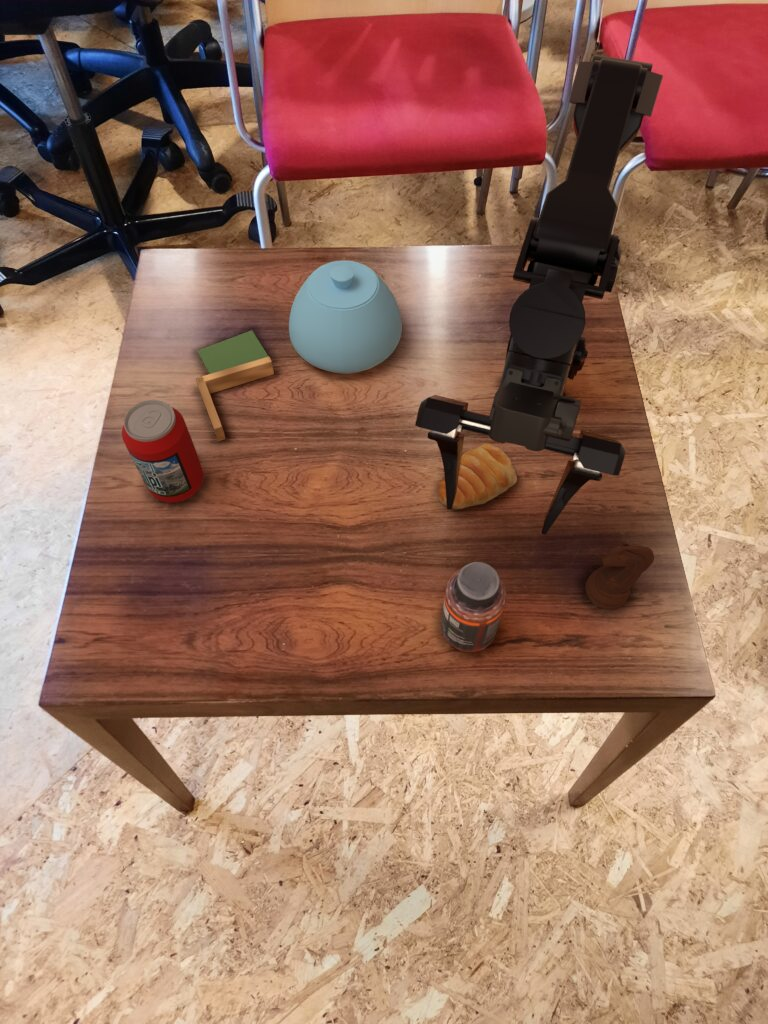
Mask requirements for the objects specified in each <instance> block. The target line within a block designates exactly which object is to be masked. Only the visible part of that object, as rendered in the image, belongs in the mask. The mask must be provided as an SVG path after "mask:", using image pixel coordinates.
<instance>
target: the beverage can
mask: <svg viewBox="0 0 768 1024" xmlns="http://www.w3.org/2000/svg"><path fill="white" fill-rule="evenodd" d="M121 438H122V441H123V443H124V445H125V447H126V449H127V451H128V453H129V455H130V457H131V460H132V461H133V463H134V465H135V467H136V469H137V471H138V473H139V475H140V477H141V479H142V480H143V483H144V485H145V487H146V488H147V490H148V492H149V494H150V495H151V496H152V497H154V499H157V500H158V501H160V502H165V503H179V502H182V501H185V500H187V499H190V498H191V497H192V496H193V495H195V494H196V493H197V492H198V491H199V490H200V488H201V486H202V484H203V482H204V470H203V467H202V464H201V461H200V458H199V455H198V451H197V450H196V447H195V443H194V442H193V439H192V436H191V433H190V430H189V428H188V426H187V423H186V421H185V419H184V417H183V414H182V413H181V412H180V411H179V410H177V409H176V408H175V407H172V406H171V405H170V404H169V403H167V402H166V401H164V400H161V399H146V400H143V401H140V402H138V403H136V404H135V405H133V406H132V407H131V408H129V409H128V411H127V413H125V416H124V418H123V425H122V429H121Z"/></svg>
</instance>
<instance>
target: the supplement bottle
mask: <svg viewBox="0 0 768 1024" xmlns="http://www.w3.org/2000/svg"><path fill="white" fill-rule="evenodd" d="M506 601H507V591H506V587H505V584H504V582H503V581H502V579H501V578H500V576H499V574H498V572H497V571H496V569H495V568H494V567H493V566H491V565H489V564H488V563H485V562H482V561H473V562H469V563H467V564H465V565H463V567H462V568H460V569H458V570H456V571H455V572H454V573H453V574H452V575H451V577H450V578H449V580H448V581H447V583H446V586H445V591H444V597H443V604H442V612H441V617H440V628H441V633H442V636H443V638H444V639H445V641H446V642H447V643H448V644H449V645H450V646H451V647H452V648H453V649H456V650H458V651H460V652H464V653H477V652H479V651H482V650H485V649H486V648H487V647H489V646H490V645H491V644H492V642H493V641H494V640H495V637H496V635H497V632H498V629H499V626H500V622H501V619H502V616H503V614H504V613H503V612H504V609H505V606H506Z"/></svg>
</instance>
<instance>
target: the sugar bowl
mask: <svg viewBox="0 0 768 1024" xmlns="http://www.w3.org/2000/svg"><path fill="white" fill-rule="evenodd" d="M288 319H289V320H288V334H289V335H288V336H289V339H290V343H291V345H292V347H293V349H294V350H295V351H296V353H297V354H298V356H299V357H301V358H302V359H303V360H304V361H306V363H308V364H309V365H312V366H314V367H316V368H318V369H320V370H323V371H325V372H329V373H335V374H344V375H347V374H348V375H349V374H357V373H361V372H364V371H367V370H370V369H372V368H374V367H377V366H378V365H380V364H381V363H383V362H384V361H386V360H387V359H388V358H389V357H390V356H392V354H393V353H394V351H395V350H396V348H397V347H398V345H399V343H400V340H401V337H402V333H403V331H402V330H403V322H402V315H401V310H400V307H399V303H398V301H397V300H396V297H395V296H394V293H393V292H392V290H391V288H389V286H388V285H387V284H386V282H385V281H384V280H383V279H382V278H381V277H380V276H379V275H378V274H377V273H376V272H375V271H374V270H373V269H371V268H370V267H369V266H367V265H365V264H363V263H361V262H357V261H353V260H334V261H330V262H327V263H324V264H323V265H321V266H319V267H317V268H316V269H315V270H313V272H311V274H309V276H308V277H307V278H306V280H305V281H304V282H303V284H302V285H301V287H300V288H299V290H298V291H297V293H296V295H295V297H294V299H293V302H292V305H291V308H290V313H289V318H288Z"/></svg>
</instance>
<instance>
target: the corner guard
mask: <svg viewBox="0 0 768 1024" xmlns="http://www.w3.org/2000/svg"><path fill="white" fill-rule="evenodd" d="M274 375H275V372H274V366H273V361H272V359H271V357H270V356H269V357H266V358H262V359H259V360H255V361H252V362H249V363H245V364H242V365H239V366H235V367H232V368H229V369H225V370H222V371H219V372H215V373H212V374H209V373H208V374H205V375H201V376H199V377H196V378H195V381H196V384H197V387H198V390H199V393H200V396H201V399H202V401H203V405H204V407H205V409H206V412H207V415H208V418H209V421H210V423H211V426H212V428H213V432H214V434H215V437H216V439H217V442H221V441H224V440H226V439H227V438H226V434H225V431H224V428H223V424H222V422H221V420H220V417H219V414H218V412H217V409H216V406H215V404H214V402H213V399H212V395H211V394H215V393H217V392H221V391H224V390H227V389H230V388H234V387H237V386H240V385H244V384H248V383H250V382H253V381H256V380H260V379H264V378H267V377H270V376H274Z"/></svg>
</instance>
